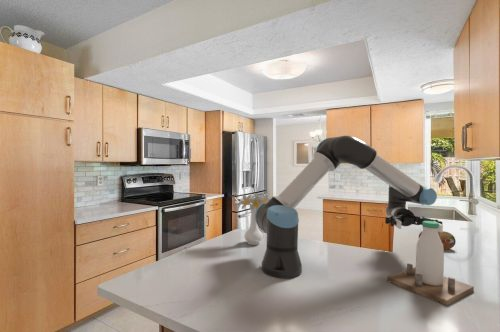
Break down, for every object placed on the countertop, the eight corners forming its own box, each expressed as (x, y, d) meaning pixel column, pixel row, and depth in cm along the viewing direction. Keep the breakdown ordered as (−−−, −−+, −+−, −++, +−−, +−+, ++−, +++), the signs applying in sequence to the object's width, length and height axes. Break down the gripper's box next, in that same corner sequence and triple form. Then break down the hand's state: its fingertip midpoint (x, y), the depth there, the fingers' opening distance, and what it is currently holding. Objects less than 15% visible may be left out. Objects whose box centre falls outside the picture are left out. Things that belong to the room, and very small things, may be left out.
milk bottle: (444, 288, 84) (445, 225, 83) (415, 282, 88) (417, 222, 87) (442, 279, 90) (443, 221, 90) (415, 274, 94) (416, 218, 94)
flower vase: (232, 240, 137) (233, 191, 136) (267, 239, 140) (268, 191, 140) (235, 248, 124) (236, 195, 123) (273, 246, 127) (274, 194, 127)
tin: (419, 246, 132) (419, 229, 132) (417, 244, 135) (418, 228, 135) (455, 250, 127) (456, 233, 127) (453, 248, 130) (453, 231, 130)
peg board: (387, 280, 92) (387, 266, 92) (415, 270, 101) (415, 257, 101) (446, 305, 77) (447, 288, 76) (473, 291, 86) (474, 275, 86)
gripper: (434, 227, 116) (459, 240, 95) (372, 222, 122) (383, 233, 101) (434, 210, 116) (460, 219, 95) (372, 205, 122) (384, 214, 101)
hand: (420, 226), depth 98 cm, fingers open, 13 cm apart
